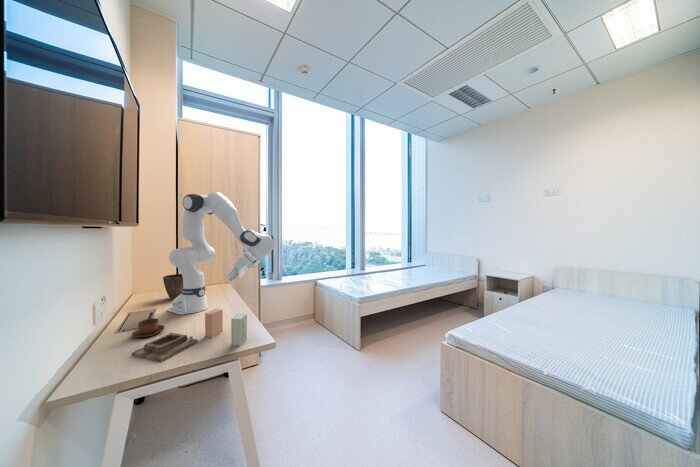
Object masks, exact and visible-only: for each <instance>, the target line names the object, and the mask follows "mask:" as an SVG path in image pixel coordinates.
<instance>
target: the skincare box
mask: <svg viewBox="0 0 700 467" xmlns="http://www.w3.org/2000/svg"><path fill="white" fill-rule="evenodd" d="M230 320H231V321H230V323H231V325H230V326H231V329H230V331H231V332H230V334H231V336H230V337H231V340H230V341H231V342H230V343H231V347H232V346H234V347H235V346H236V347H241V346H242V345H243V344H244V343H245V342H246V341H247V340H248V326H247V325H248V314H247V313H237V314H235V315H234V316H233V317H232V318H231V319H230Z"/></svg>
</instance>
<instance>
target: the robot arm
mask: <svg viewBox="0 0 700 467" xmlns="http://www.w3.org/2000/svg"><path fill="white" fill-rule="evenodd" d="M182 206H183V208H184V210H183V213H182V214H183V215H182V237H183V238H184V239H185V240H186V241H189V243H191V246H186V247H179V248H175V249H172V250H171V251H170V252H169V255H168V259H169V263H170V264H171V265H172V266H174V267H176V268H177V269H178V270H179V272H180V274H182V276H183V288H181V289H182V291H181V290H180V291H181V294H180V295H179V296H178V297H176V298H175V299H174V300H172V302H171V306H170V307H168V308H167V310H166V312H170V313H174V314H177V315H180V316H181V315H186V314H193V313H194V314H195V313H199V312H203V311H205V310H207V309H208V306H209V304H208V302H207V294H206V285H205V273H204V272H203V271H202V270H199V269H197V267H196V265H199V264H200V265H201V264H207V263H209V262H212V261H213V260H214V259H215V257H216V250H215V249H214V247H212V246H211V245H210V244H209V243H208V242H207V240H206V236H205V216H206V215H209V216H211V215H213V214H214V215H215V216H216V217H217V218H218V219H219V220H220V221H221V222H222V223H223V224H224V225H225V226H226V227H227V228H228V229H229V230H230V231H231V232H232V233H233V234H234V235H235V238H237V239H238V241H239V243H240V244H241V247H242V250H243V254H242V255H241V257H240V258H239V259H238V260H236V261H235V263H234V264H233V269H231V270H230V272H229V273H228V274H227V277H228V280H229V282H233V281H234V280H235V279H237V278H241V277H242V276H243V275H244V274H245V273H247V272H248V270H249V269H251V268H255V267H256V266H257V265H259V263H261V261H262V260H263V259H264V258H265V257H267V256H268V255H269V254H270V253H271V252H272V251H273V250H274V248H275V245H276V244H275V241H274V239H273V238H272V237H271V236H270V235H269V234H268V235H267V234H266V235H265V234H262V233H259V232H257V231H255V230H253V229H245V228H244V226H243V224H242V222H241V220H240V217H239V213H238V210H237V209H236V207H235V205H234V203H232V201H231V200H229V198H227V196H225V195H224V194H223V193H222V192H218V191H214V192H212V191H211V192H210V193H208V194H198V193H197V194H196V193H189V194H186V195H185V196H183V199H182Z"/></svg>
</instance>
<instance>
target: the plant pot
mask: <svg viewBox="0 0 700 467" xmlns="http://www.w3.org/2000/svg"><path fill="white" fill-rule="evenodd" d="M162 280H163V285H164V288H165V292H166V294H167V296H168V298H169V300H172V301H173V300H174V299H175V298H176V297H178V296H179V295H180V294H181V291H182V289H181V288H183V276H182V273H175V274H174V273H173V274H168V275H164V276H163V277H162ZM180 290H181V291H180Z"/></svg>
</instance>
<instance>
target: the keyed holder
mask: <svg viewBox="0 0 700 467" xmlns="http://www.w3.org/2000/svg"><path fill="white" fill-rule="evenodd" d="M198 342H199V339H198V338H197V339H196V338H194V336H193V335H189V337H188V335H187V334H181V333H175V332H170V333H168V334H165V335H164V336H161V337H159V338H156V339H154V340H152V341H150V342H148V343H145V344H143V347H141V348H138V349H136V350H134V351H132V352H131V356H135V357H139V358H143V359H148V360H152V361H157V362H162V363H163V362H164V361H165V360H168V359H170V358H171V357H173V356H176V355H177V354H179V353H180V352H182V351H185V350H186V349H188V348H191V347H192V346H194V345H195V344H197V343H198Z"/></svg>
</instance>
